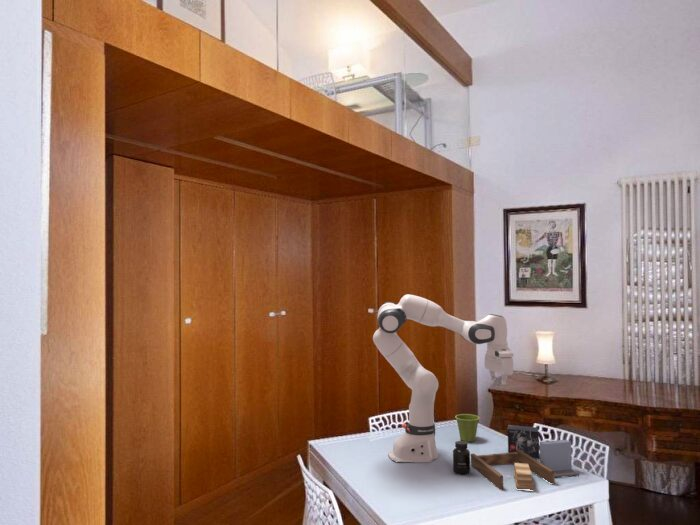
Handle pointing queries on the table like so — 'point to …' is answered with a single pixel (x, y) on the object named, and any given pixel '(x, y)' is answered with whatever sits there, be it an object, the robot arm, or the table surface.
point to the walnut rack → (495, 477)
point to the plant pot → (467, 426)
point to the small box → (523, 440)
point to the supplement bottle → (461, 458)
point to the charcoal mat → (565, 473)
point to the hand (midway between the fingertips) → (498, 382)
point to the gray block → (556, 454)
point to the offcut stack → (523, 476)
